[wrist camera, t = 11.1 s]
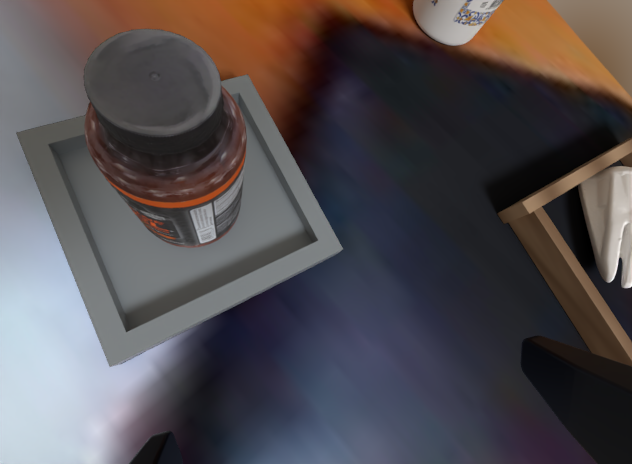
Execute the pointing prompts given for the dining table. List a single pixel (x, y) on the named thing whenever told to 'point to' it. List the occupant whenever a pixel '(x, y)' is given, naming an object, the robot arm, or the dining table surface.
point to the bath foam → (453, 18)
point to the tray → (169, 260)
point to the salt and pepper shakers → (610, 220)
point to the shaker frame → (571, 259)
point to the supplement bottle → (166, 134)
